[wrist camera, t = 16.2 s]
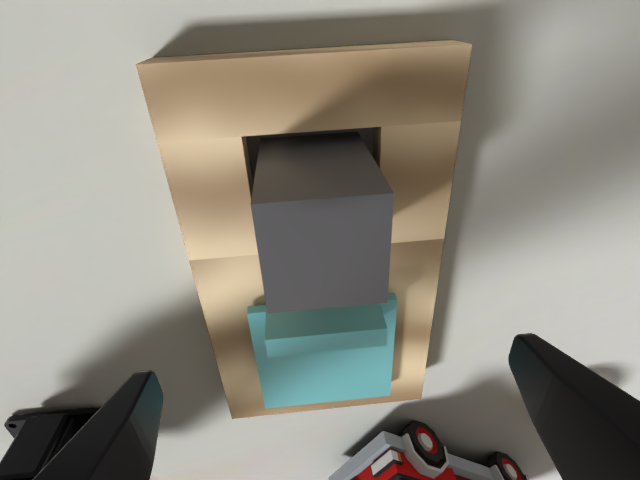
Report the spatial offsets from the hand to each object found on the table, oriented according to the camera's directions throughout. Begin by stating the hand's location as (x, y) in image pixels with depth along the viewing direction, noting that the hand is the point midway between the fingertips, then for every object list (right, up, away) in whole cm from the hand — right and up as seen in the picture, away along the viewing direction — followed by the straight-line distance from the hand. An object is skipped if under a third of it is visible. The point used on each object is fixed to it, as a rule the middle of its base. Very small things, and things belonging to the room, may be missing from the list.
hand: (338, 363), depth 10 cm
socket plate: (-1, +2, +13) cm, 13 cm away
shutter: (0, -4, +13) cm, 14 cm away
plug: (-1, +6, +10) cm, 12 cm away
